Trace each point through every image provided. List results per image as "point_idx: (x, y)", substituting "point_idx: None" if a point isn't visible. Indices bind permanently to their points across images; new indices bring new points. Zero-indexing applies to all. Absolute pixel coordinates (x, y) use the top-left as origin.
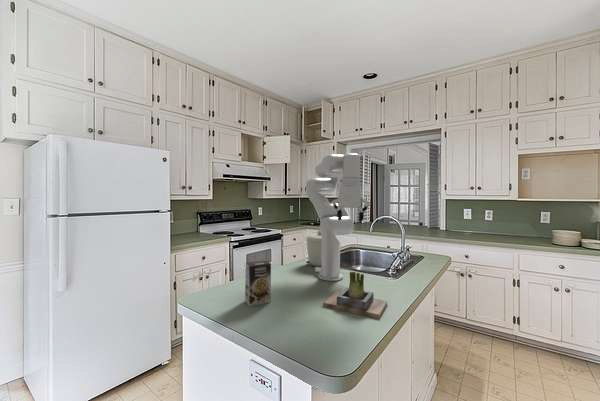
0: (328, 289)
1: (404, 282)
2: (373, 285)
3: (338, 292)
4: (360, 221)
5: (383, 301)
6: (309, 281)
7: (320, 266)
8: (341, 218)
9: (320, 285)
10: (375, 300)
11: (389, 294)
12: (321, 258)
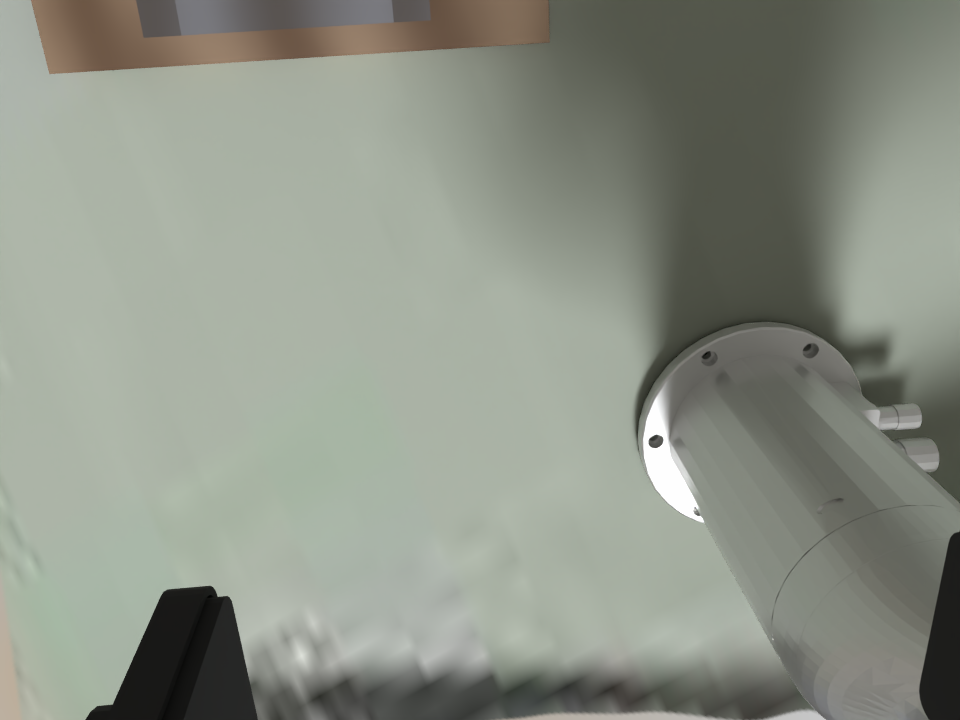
0: (653, 128)
1: None
2: (345, 439)
3: (514, 24)
4: (179, 593)
5: (70, 42)
6: (888, 224)
7: None
8: (939, 697)
9: (757, 184)
10: (140, 25)
11: (150, 315)
12: None
